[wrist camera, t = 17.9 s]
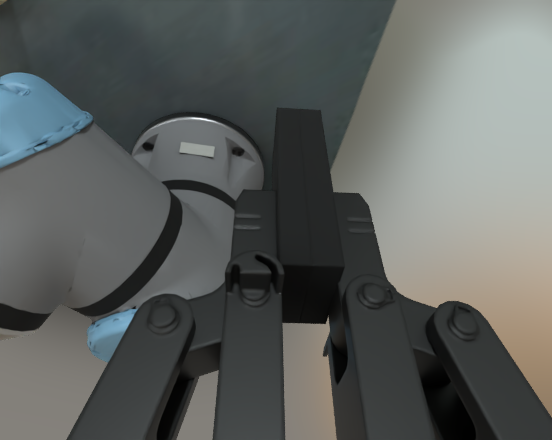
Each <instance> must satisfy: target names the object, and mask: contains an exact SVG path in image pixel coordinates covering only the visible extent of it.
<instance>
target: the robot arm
mask: <svg viewBox="0 0 552 440" xmlns="http://www.w3.org/2000/svg"><path fill="white" fill-rule="evenodd" d="M92 120H93V116H92V115H91V114H90V113H88V112H86V111H82V110H80V109H79V108H78V107H77V106H76V105H74V104H73V103H72V102H71V101H69V100H68V99H67V98H66V97H65V96H63V95H62V94H61V93H60V92H58V91H57V90H56V89H55V88H54V87H52V86H51V85H50V84H49V83H47V82H46V81H45V80H43V79H41V78H39V77H37V76H35V75H32V74H28V73H10V74H6V75H3V76H1V77H0V340H5V339H10V338H15V337H21V336H26V335H30V334H32V333H34V332H36V331H37V330H38V329H39V327H40V326H41V325H42V324H43V323H44V322H45V320H46V319H47V318H48V317H49V316H50V314H51V313H52V312H53V311H54V310H55V309H56V308H57V307H58V306H59V305H60V304H62V305H64V306H67V307H69V308H71V309H73V310H75V311H77V312H79V313H81V314H83V315H85V316H87V317H88V318H90V319H91V320H92V324H91V326H90V327H89V328H88V330H87V336H88V341H87V345H88V347H89V349H90V351H91V352H92V354H93V355H94V356H96V357H97V358H99V359H101V360H103V361H105V362H108V364H107V366H106V368H105V370H104V372H103V373H102V375H101V377H100V379H99V381H98V383H97V384H96V386H95V388H94V390H93V392H92V394H91V395H90V397H89V399H88V401H87V403H86V405H85V407H84V408H83V410H82V412H81V414H80V416H79V418H78V420H77V421H76V423H75V425H74V427H73V429H72V431H71V432H70V434H69V436H68V438H67V440H176V438H177V436H178V433H179V430H180V428H181V425H182V422H183V420H184V417H185V414H186V412H187V409H188V406H189V403H190V400H191V398H192V395H193V392H194V390H195V387H196V384H197V382H198V379H199V376H201V375H204V374H208V373H211V372H214V371H217V370H219V374H218V385H217V397H216V407H215V419H214V420H215V421H214V430H213V440H285V413H284V371H283V332H282V331H283V329H282V323H311V324H312V323H313V324H326V321H327V318H328V315H329V324H330V333H329V336H328V339H327V341H326V344H325V347H324V351H323V356H327V355H328V356H329V365H330V376H331V385H332V396H333V406H334V416H335V426H336V436H337V440H552V418H551V416H550V414H549V413H548V411H547V410H546V408H545V407H544V405H543V404H542V402H541V401H540V400H539V398H538V396H537V395H536V393H535V392H534V390H533V389H532V387H531V386H530V384H529V383H528V381H527V380H526V378H525V377H524V375H523V374H522V372H521V371H520V369H519V368H518V366H517V365H516V363H515V362H514V360H513V359H512V357H511V356H510V354H509V353H508V351H507V350H506V348H505V347H504V345H503V344H502V342H501V341H500V339H499V338H498V336H497V335H496V333H495V332H494V330H493V329H492V327H491V326H490V324H489V323H488V321H487V320H486V319H485V318H484V316H483V315H482V314H481V313H480V312H479V311H478V310H476V309H474V308H473V307H472V306H470V305H468V304H465V303H462V302H459V301H447V302H445V303H443V304H440V305H439V306H438V308H435V307H431V306H428V305H425V304H422V303H419V302H416V301H413V300H411V299H408V298H406V297H404V296H403V295H401V294H400V293H398V292H397V291H396V289H395V288H394V286H393V285H391V284H390V282H389V281H388V280H387V278H386V275H385V272H384V267H383V264H382V259H381V255H380V251H379V246H378V243H377V238H376V234H375V233H374V232H375V230H374V225H373V222H372V217H371V213H370V209H369V206H368V204H367V203H366V202H365V200H364V199H363V198H362V196H361V195H360V194H359V193H336V192H333V187H332V181H331V174H330V168H329V161H328V155H327V149H326V142H325V136H324V130H323V123H322V117H321V111H320V110H308V109H291V108H277V113H276V125H275V138H274V150H273V163H272V191H271V190H262V187H263V183H264V163H263V159H262V156H261V153H260V151H259V149H258V147H257V146H256V144H255V143H254V141H253V140H252V139H251V138H250V137H249V136H248V135H247V134H246V133H245V132H244V131H243V130H241V129H240V128H239V127H237V126H236V125H234V124H232V123H230V122H228V121H226V120H224V119H222V118H219V117H216V116H212V115H209V114H203V113H193V112H186V113H177V114H172V115H168V116H165V117H162V118H160V119H158V120H156V121H154V122H153V123H151V124H150V125H149V126H147V127H146V128H145V129H144V130H143V131H142V133H141V134H140V135H139V137H138V139H137V141H136V143H135V146H134V148H133V151H132V155H130V154H129V153H128V152H127V151H125V150H124V149H123V148H122V147H121V146H120V145H119V144H118V143H116V142H115V141H114V140H113V139H112V138H111V137H110V136H109V135H107V134H106V133H105V132H104V131H103V130H102V129H101V128H100V127H99V126H98V125H96V124H95V123H94V122H93V121H92Z"/></svg>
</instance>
